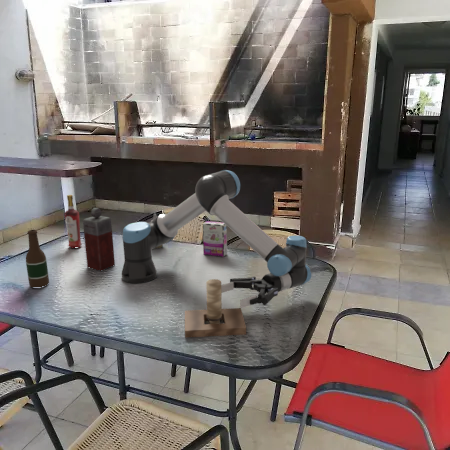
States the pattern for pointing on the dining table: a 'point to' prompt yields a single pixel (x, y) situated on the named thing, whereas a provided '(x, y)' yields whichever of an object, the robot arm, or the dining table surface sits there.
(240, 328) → the walnut board
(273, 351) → the dining table surface
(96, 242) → the red square decanter
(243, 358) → the dining table surface
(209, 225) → the candy bar box
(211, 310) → the birch peg
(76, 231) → the liquor
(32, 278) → the beer bottle
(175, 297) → the dining table surface
